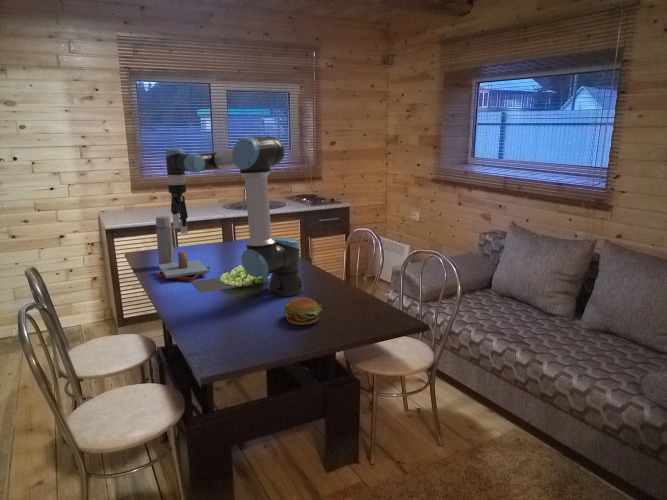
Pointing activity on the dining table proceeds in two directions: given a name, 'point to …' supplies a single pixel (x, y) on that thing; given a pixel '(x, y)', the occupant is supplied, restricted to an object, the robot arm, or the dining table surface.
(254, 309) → the dining table surface
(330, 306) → the dining table surface
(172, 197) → the robot arm
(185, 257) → the lid
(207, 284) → the mat
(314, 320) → the food
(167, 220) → the water bottle
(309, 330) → the dining table surface
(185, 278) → the plant saucer
